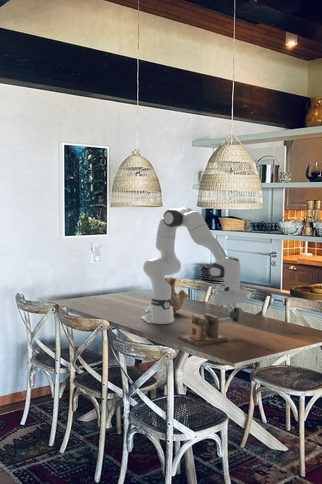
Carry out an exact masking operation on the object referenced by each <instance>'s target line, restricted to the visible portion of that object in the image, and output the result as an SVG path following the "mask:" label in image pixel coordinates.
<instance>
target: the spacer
mask: <svg viewBox="0 0 322 484" xmlns="http://www.w3.org/2000/svg"><path fill="white" fill-rule="evenodd" d="M189 325H190V326H189V327H190V328H189V334H190V337H192V338H194V339H197V340H201V326H199V325H197V324H194V323H192V322H191V323H190V324H189ZM195 329H196V334H195Z"/></svg>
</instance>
